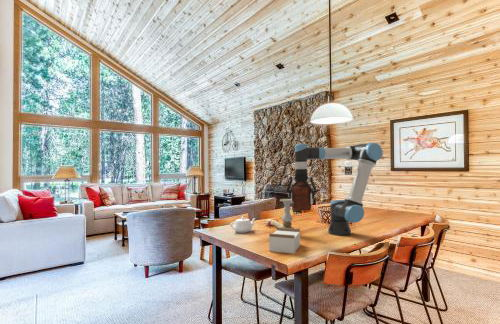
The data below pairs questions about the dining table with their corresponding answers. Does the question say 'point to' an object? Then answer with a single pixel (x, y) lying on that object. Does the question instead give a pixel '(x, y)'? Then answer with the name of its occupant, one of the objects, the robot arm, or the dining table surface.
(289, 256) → the dining table surface
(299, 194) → the wooden figurine
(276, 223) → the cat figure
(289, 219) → the candle holder
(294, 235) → the display plinth
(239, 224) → the teapot
